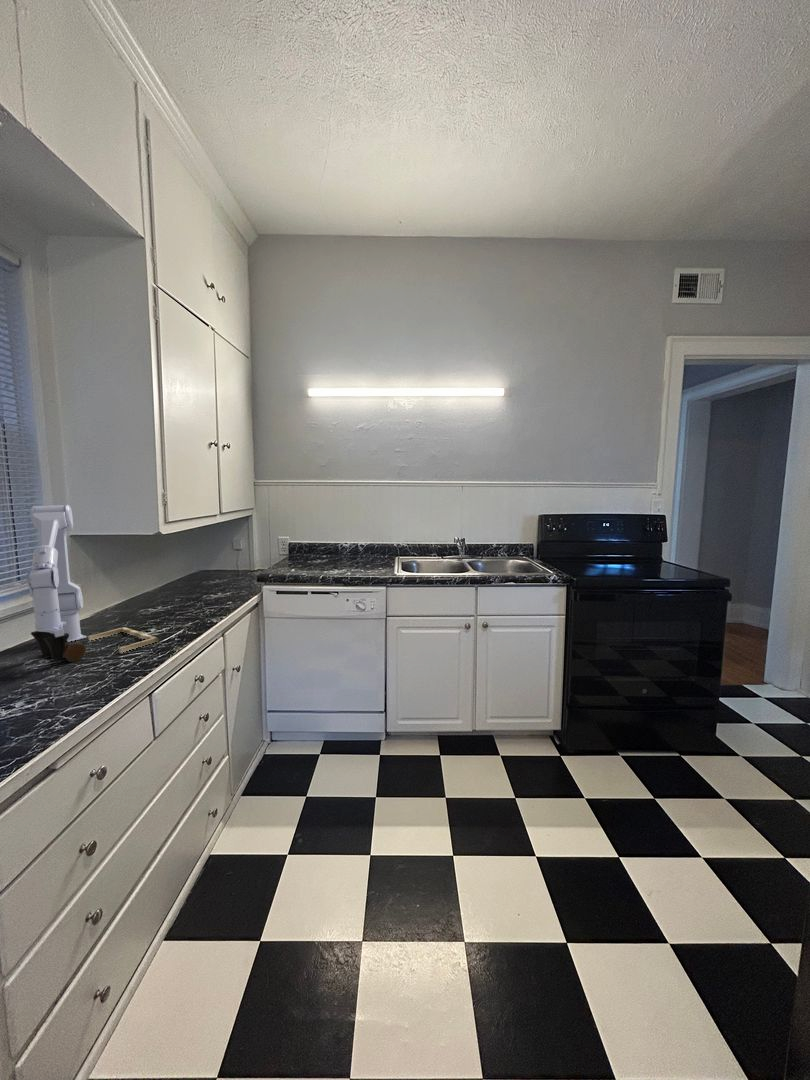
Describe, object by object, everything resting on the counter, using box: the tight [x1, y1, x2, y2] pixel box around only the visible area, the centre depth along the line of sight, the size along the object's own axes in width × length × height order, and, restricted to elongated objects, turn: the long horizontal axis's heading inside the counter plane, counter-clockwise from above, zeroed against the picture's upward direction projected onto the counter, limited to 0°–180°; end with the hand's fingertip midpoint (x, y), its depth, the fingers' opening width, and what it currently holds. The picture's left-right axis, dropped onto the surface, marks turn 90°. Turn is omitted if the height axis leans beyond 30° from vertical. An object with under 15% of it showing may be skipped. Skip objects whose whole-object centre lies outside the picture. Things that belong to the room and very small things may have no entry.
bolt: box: [62, 641, 87, 663], centre depth 139 cm, size 6×5×15 cm
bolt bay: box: [87, 626, 159, 654], centre depth 151 cm, size 21×11×2 cm, turn 56°
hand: (52, 656), depth 136 cm, fingers open, 7 cm apart
